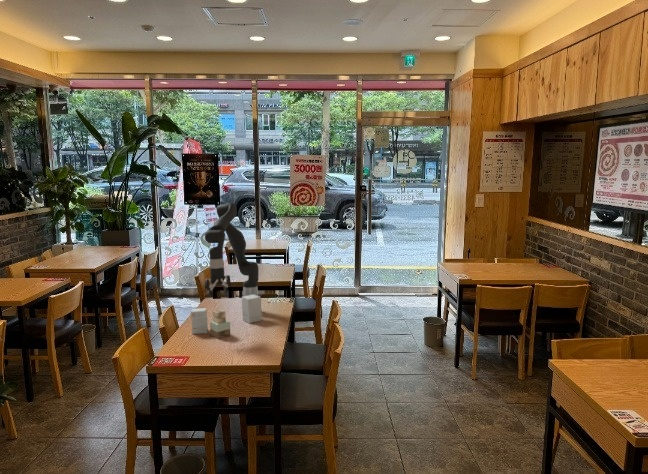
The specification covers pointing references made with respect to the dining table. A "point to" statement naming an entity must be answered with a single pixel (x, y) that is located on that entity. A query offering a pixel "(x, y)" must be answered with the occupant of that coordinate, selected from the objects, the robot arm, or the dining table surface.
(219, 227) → the robot arm
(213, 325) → the sage slab
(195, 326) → the small box
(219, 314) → the maple block
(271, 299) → the dining table surface
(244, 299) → the supplement box
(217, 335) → the walnut slab
